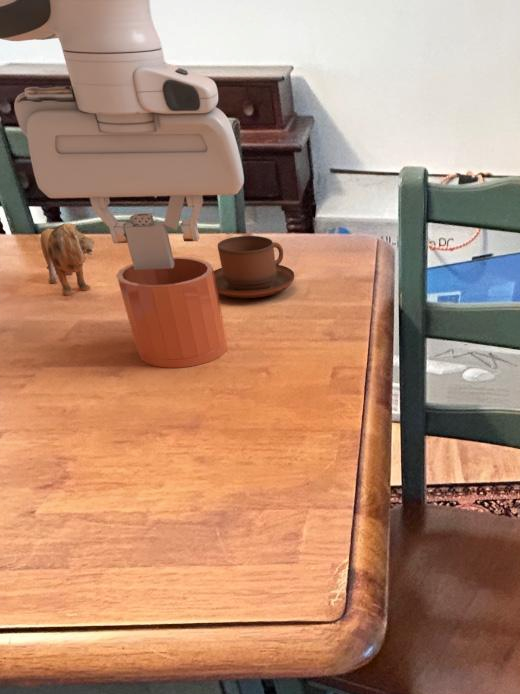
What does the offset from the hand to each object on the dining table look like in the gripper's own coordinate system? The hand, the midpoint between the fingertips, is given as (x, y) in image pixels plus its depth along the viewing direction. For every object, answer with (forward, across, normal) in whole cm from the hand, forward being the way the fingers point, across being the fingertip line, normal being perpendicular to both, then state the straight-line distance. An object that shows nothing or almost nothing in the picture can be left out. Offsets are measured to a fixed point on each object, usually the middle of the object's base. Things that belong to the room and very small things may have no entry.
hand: (157, 241), depth 80 cm
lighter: (+3, 0, 0) cm, 3 cm away
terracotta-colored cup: (+12, 0, 0) cm, 12 cm away
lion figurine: (+12, -18, +25) cm, 33 cm away
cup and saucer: (+12, +7, +20) cm, 24 cm away
